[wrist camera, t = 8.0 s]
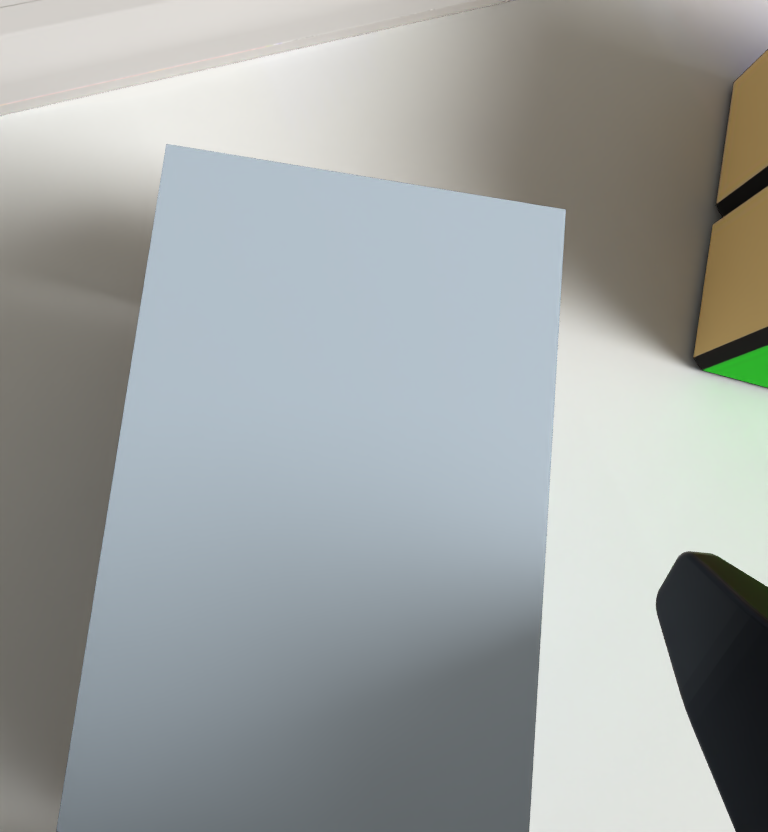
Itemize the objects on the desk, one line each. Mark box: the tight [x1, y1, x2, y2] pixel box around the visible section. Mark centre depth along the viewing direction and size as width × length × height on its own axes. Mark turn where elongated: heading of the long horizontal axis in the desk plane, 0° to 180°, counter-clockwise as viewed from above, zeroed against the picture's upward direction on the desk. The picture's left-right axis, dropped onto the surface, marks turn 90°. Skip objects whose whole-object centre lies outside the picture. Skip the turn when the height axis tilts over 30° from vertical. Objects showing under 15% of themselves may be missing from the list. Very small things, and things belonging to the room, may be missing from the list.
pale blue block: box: [56, 144, 566, 832], centre depth 12 cm, size 12×5×9 cm, turn 174°
